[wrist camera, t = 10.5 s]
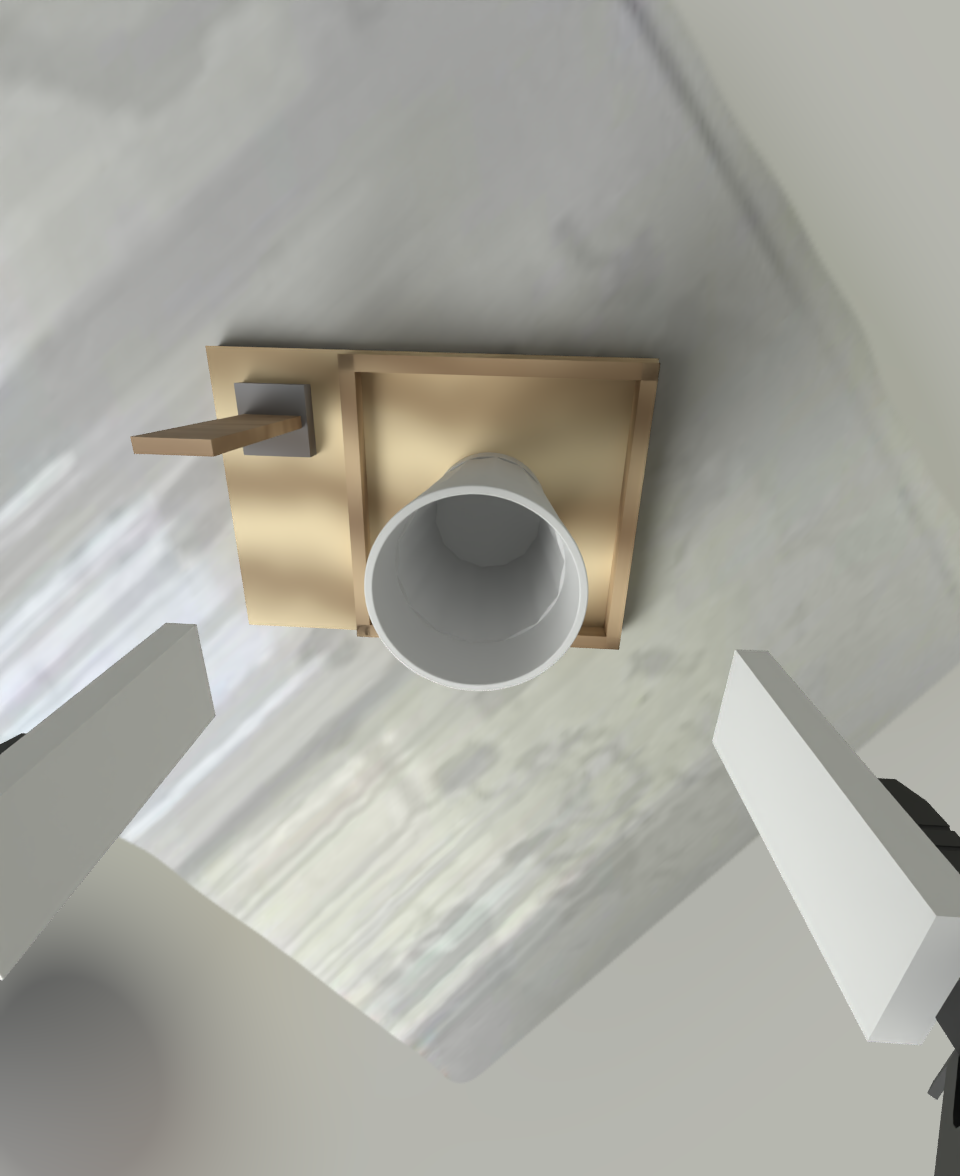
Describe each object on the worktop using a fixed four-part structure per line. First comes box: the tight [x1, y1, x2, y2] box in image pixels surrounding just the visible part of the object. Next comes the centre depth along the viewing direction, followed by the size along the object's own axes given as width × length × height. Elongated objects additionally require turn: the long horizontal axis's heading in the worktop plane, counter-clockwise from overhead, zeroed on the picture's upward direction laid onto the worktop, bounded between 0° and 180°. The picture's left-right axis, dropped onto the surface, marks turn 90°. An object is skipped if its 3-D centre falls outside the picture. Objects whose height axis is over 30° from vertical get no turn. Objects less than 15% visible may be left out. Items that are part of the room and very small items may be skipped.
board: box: [131, 346, 660, 650], centre depth 26 cm, size 16×23×11 cm
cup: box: [364, 452, 588, 691], centre depth 25 cm, size 8×8×12 cm
